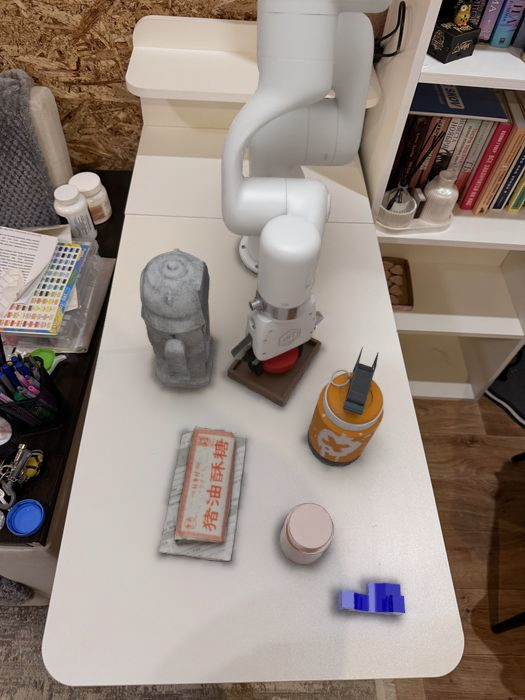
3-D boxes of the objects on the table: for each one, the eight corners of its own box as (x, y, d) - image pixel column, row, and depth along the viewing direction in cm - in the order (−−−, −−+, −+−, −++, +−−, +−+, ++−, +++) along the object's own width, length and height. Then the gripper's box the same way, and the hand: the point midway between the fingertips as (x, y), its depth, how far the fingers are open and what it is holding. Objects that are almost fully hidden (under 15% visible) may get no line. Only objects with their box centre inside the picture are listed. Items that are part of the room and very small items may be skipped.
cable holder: (395, 586, 70) (403, 583, 66) (396, 615, 68) (405, 613, 65) (337, 581, 70) (342, 577, 66) (336, 609, 68) (342, 607, 65)
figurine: (216, 327, 90) (210, 225, 69) (210, 399, 83) (201, 311, 62) (161, 324, 90) (137, 221, 69) (150, 397, 83) (120, 307, 61)
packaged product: (180, 420, 76) (247, 428, 76) (183, 432, 80) (246, 440, 80) (155, 548, 66) (230, 557, 66) (159, 554, 71) (231, 562, 71)
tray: (267, 321, 92) (268, 314, 90) (319, 348, 89) (321, 342, 87) (227, 376, 85) (227, 370, 84) (282, 407, 83) (283, 401, 81)
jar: (293, 508, 75) (300, 490, 66) (332, 532, 73) (344, 516, 65) (271, 548, 72) (276, 534, 64) (311, 573, 70) (321, 562, 62)
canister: (299, 455, 79) (317, 399, 62) (320, 395, 84) (341, 328, 67) (355, 475, 78) (389, 424, 60) (372, 413, 83) (408, 350, 66)
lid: (298, 374, 83) (299, 368, 81) (253, 372, 83) (254, 367, 81) (297, 337, 86) (298, 331, 85) (254, 335, 86) (255, 329, 85)
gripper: (240, 339, 67) (239, 399, 82) (350, 291, 72) (330, 356, 87) (215, 298, 70) (218, 363, 85) (321, 255, 75) (307, 323, 90)
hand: (275, 359), depth 86 cm, fingers closed on lid, 7 cm apart
